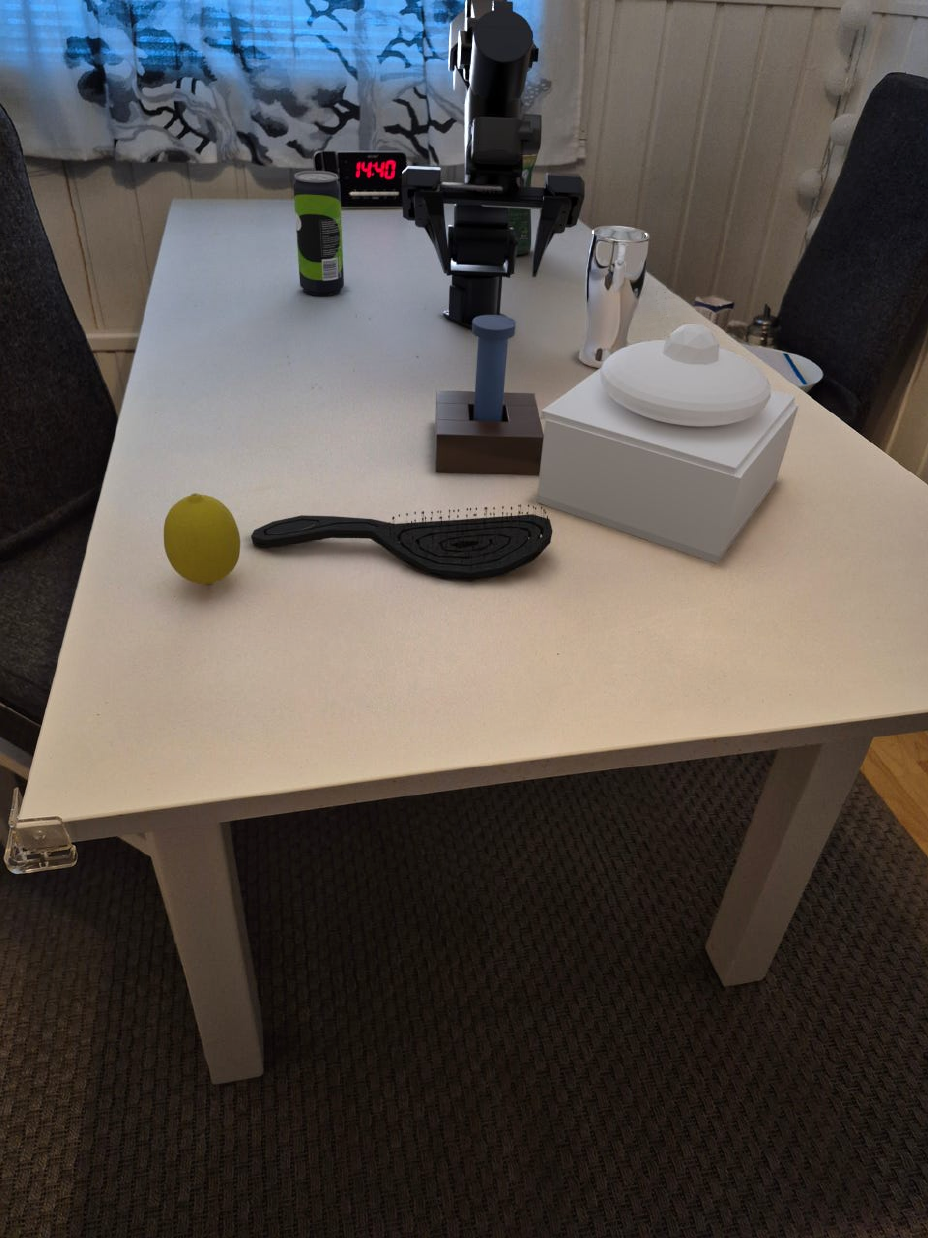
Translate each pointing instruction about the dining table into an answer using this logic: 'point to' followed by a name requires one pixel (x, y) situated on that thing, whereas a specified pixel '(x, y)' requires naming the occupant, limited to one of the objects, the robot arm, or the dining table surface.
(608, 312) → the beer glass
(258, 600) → the dining table surface
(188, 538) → the lemon
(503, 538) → the hairbrush
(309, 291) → the beverage can
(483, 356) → the peg
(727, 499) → the white lidded box
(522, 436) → the stand
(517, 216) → the coffee jar
